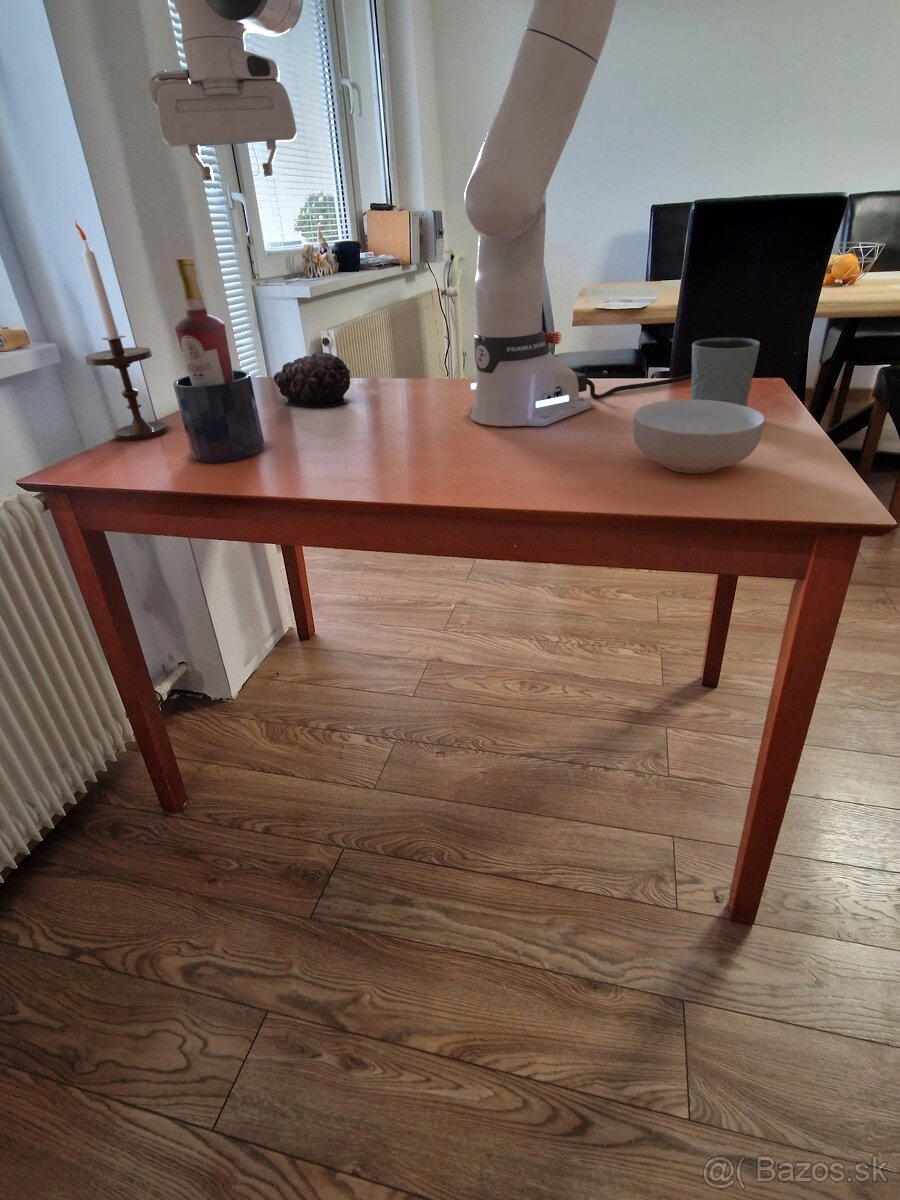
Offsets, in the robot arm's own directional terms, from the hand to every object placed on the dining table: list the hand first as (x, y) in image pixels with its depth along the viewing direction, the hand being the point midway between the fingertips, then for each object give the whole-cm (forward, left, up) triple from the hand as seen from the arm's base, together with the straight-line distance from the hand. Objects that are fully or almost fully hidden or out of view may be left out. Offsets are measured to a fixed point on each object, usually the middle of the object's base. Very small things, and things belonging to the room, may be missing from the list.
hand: (239, 178), depth 106 cm
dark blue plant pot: (+14, +10, -39) cm, 43 cm away
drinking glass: (-55, +54, -39) cm, 87 cm away
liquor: (+14, +10, -38) cm, 42 cm away
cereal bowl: (-34, +66, -39) cm, 84 cm away
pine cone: (-10, -10, -39) cm, 42 cm away
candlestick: (+23, -14, -39) cm, 48 cm away
